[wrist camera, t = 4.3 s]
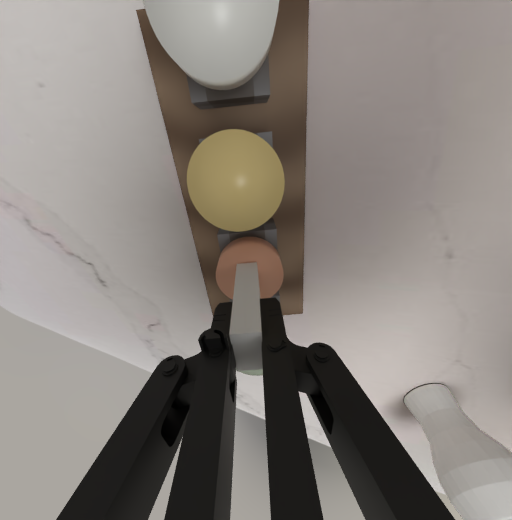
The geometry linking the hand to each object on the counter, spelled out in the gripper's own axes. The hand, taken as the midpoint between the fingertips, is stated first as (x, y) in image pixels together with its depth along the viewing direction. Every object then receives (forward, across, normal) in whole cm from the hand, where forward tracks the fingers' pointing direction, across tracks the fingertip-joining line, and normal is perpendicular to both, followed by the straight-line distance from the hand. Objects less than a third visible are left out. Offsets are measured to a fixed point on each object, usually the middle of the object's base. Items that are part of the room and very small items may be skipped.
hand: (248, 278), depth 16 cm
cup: (+8, +29, -34) cm, 45 cm away
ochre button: (+4, 0, +7) cm, 8 cm away
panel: (+8, 0, +4) cm, 9 cm away
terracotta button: (+6, 0, 0) cm, 6 cm away
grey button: (+4, 0, +14) cm, 15 cm away
